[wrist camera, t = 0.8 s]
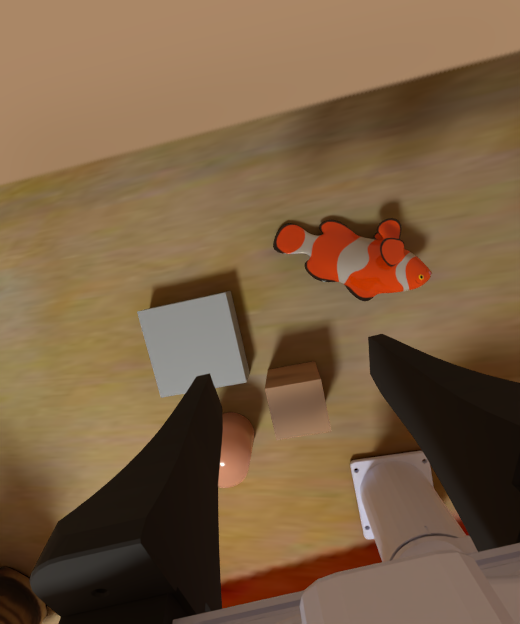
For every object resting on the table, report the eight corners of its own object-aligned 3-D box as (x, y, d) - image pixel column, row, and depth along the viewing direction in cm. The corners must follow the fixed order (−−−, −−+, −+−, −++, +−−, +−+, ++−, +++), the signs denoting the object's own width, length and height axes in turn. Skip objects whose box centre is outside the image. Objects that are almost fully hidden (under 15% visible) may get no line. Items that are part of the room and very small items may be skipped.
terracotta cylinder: (258, 450, 31) (254, 484, 26) (216, 456, 32) (203, 490, 27) (249, 408, 31) (242, 435, 26) (205, 416, 31) (190, 443, 26)
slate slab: (250, 371, 30) (246, 382, 27) (172, 385, 31) (160, 397, 29) (231, 290, 29) (225, 292, 26) (151, 307, 30) (137, 311, 27)
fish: (460, 256, 22) (383, 337, 23) (429, 259, 27) (367, 326, 28) (333, 150, 22) (264, 239, 23) (325, 171, 26) (267, 244, 28)
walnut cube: (323, 405, 30) (331, 431, 25) (277, 412, 31) (276, 440, 26) (314, 360, 29) (320, 379, 24) (268, 369, 30) (264, 388, 25)
